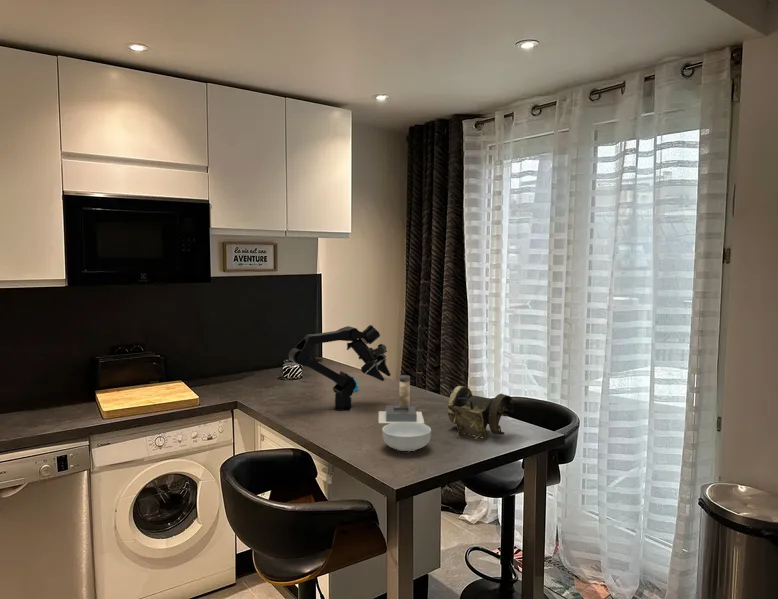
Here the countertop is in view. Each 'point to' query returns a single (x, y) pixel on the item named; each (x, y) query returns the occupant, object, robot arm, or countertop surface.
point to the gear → (356, 386)
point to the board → (383, 420)
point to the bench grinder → (477, 411)
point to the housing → (401, 414)
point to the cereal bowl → (406, 435)
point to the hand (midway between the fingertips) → (386, 378)
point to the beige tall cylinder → (404, 390)
